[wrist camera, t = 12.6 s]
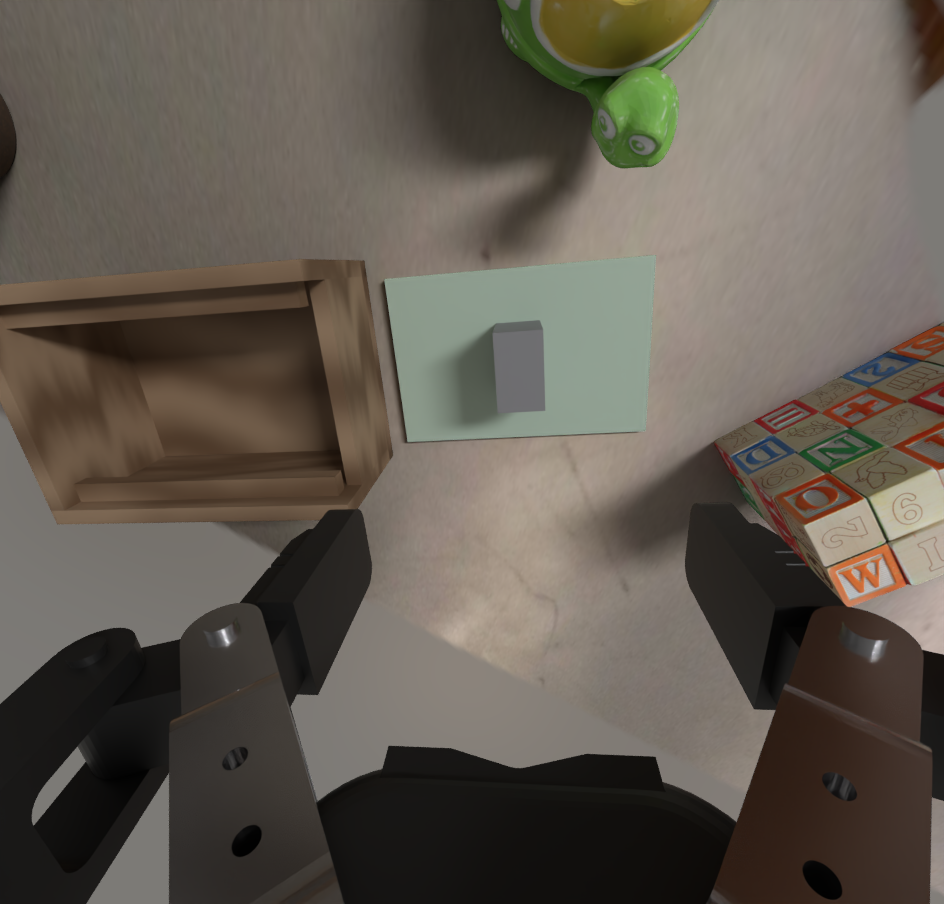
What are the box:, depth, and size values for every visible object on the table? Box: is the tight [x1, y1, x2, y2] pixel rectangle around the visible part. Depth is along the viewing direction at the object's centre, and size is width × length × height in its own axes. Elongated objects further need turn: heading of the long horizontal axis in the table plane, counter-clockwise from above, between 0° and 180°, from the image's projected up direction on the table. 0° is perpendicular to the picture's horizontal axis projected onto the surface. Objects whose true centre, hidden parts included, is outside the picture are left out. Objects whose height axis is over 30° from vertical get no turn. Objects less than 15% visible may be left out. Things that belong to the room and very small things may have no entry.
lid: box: [384, 255, 656, 442], centre depth 31 cm, size 12×18×6 cm, turn 95°
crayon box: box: [0, 259, 393, 524], centre depth 31 cm, size 15×20×10 cm
